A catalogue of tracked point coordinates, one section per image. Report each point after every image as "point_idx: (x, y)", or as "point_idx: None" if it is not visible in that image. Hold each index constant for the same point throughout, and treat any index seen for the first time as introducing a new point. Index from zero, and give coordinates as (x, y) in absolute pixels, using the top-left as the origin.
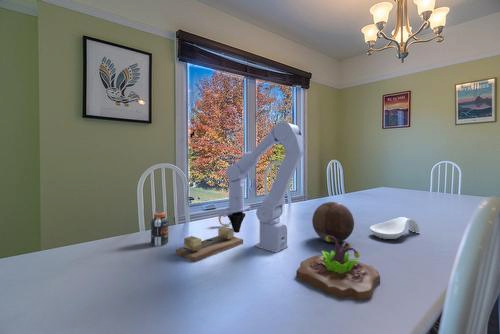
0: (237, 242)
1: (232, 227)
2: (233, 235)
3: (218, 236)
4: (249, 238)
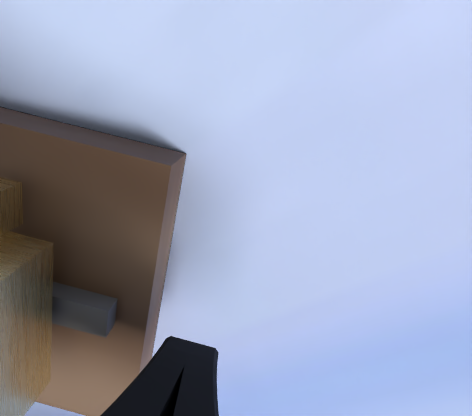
0: (53, 397)
1: (134, 382)
2: (35, 397)
3: (35, 155)
4: (303, 396)
